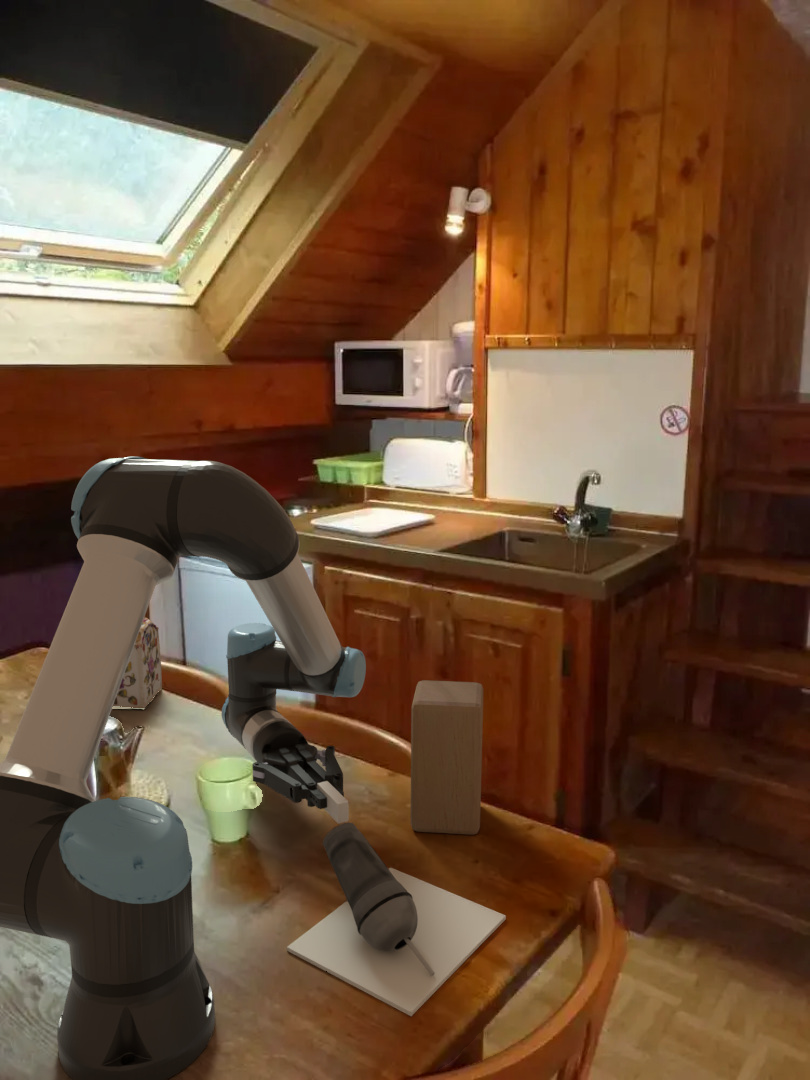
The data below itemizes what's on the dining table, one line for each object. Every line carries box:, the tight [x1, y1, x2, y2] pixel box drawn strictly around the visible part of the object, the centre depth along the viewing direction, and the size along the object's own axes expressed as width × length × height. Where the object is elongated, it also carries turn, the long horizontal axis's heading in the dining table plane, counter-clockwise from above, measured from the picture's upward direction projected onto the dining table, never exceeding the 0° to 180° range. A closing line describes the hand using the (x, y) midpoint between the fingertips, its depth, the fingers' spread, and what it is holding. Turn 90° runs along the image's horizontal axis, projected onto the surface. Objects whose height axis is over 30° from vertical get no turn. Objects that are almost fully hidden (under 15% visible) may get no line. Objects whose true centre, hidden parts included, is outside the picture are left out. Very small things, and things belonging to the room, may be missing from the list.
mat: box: [286, 867, 507, 1017], centre depth 104 cm, size 20×18×1 cm
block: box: [410, 679, 484, 836], centre depth 129 cm, size 10×10×20 cm
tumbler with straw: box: [322, 821, 435, 976], centre depth 102 cm, size 7×7×20 cm
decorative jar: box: [113, 616, 163, 709], centre depth 173 cm, size 12×12×18 cm
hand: (343, 812), depth 112 cm, fingers closed
